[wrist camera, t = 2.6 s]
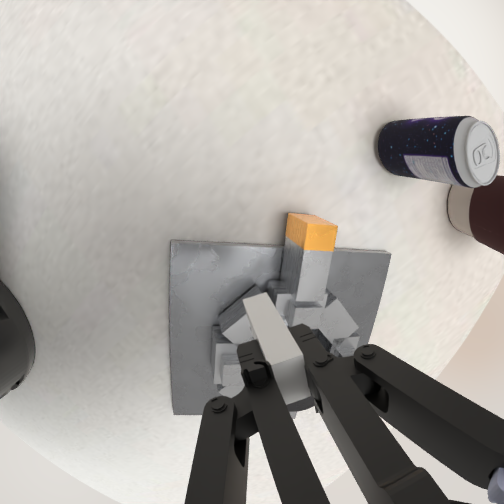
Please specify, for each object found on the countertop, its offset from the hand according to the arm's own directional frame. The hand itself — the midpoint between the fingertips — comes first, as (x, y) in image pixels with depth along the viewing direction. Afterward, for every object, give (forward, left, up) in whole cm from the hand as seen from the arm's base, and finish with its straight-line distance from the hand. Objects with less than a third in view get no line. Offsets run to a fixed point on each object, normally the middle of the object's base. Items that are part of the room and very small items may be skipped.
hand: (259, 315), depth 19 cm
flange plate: (+6, -7, -10) cm, 13 cm away
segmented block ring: (+5, -5, -9) cm, 11 cm away
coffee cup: (+28, +9, -10) cm, 31 cm away
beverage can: (+15, +13, -10) cm, 22 cm away
